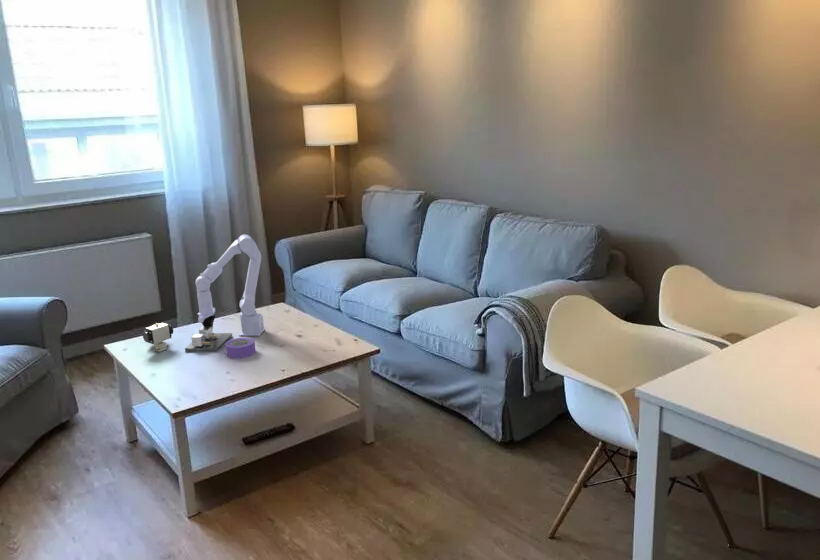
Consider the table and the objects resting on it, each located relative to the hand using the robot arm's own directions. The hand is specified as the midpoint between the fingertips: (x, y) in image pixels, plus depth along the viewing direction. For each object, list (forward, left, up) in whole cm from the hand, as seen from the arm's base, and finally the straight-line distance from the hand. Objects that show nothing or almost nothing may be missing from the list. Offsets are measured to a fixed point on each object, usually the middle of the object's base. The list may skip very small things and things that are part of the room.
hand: (209, 332), depth 305 cm
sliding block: (-1, +4, -1) cm, 4 cm away
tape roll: (-20, +17, -3) cm, 26 cm away
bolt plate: (-2, +6, -3) cm, 7 cm away
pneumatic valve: (+17, +13, -3) cm, 22 cm away
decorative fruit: (+21, +6, -3) cm, 22 cm away
